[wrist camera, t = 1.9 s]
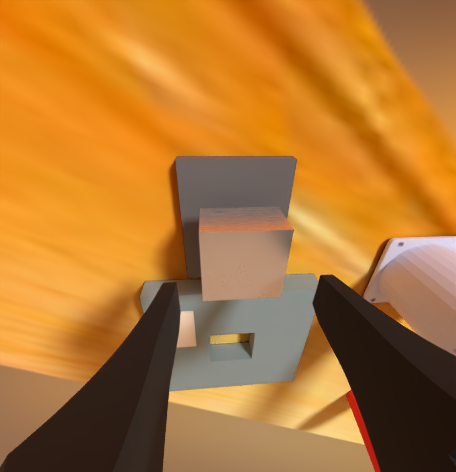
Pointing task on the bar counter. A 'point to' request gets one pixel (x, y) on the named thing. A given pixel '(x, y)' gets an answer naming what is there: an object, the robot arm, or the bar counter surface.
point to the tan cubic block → (243, 252)
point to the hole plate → (236, 322)
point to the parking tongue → (228, 190)
